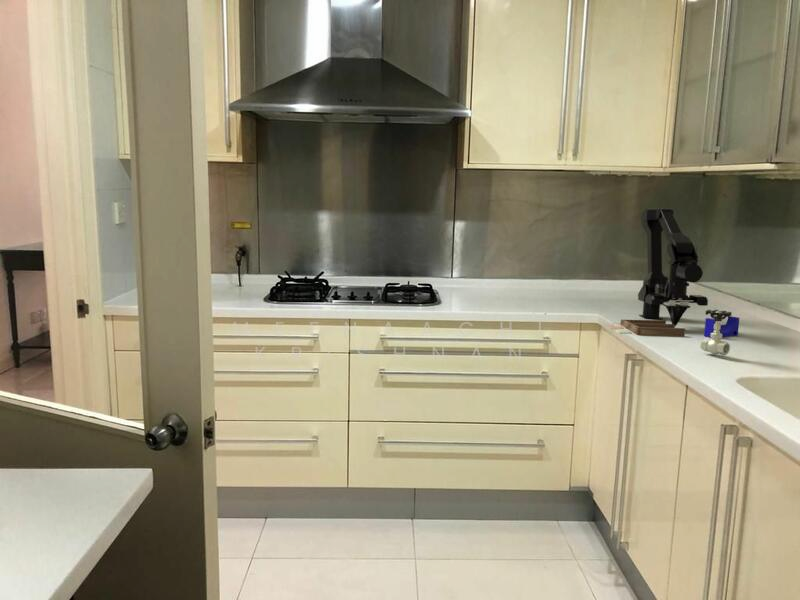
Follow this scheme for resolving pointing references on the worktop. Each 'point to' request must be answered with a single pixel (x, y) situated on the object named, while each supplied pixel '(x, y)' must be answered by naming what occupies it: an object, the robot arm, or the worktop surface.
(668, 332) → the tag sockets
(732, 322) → the cable clip
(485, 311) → the worktop surface
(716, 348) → the valve
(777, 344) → the worktop surface
